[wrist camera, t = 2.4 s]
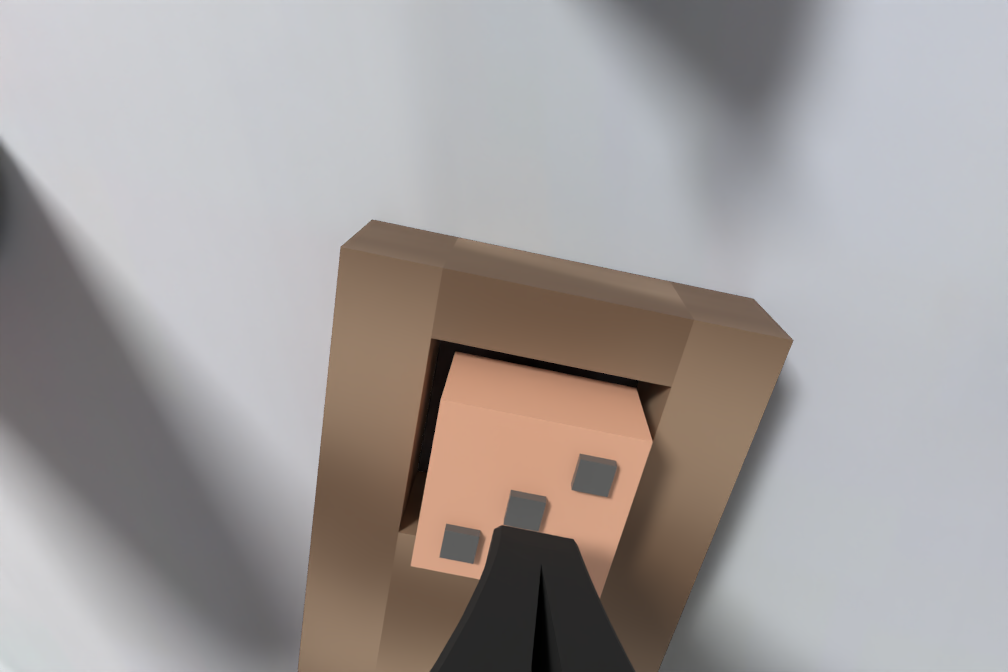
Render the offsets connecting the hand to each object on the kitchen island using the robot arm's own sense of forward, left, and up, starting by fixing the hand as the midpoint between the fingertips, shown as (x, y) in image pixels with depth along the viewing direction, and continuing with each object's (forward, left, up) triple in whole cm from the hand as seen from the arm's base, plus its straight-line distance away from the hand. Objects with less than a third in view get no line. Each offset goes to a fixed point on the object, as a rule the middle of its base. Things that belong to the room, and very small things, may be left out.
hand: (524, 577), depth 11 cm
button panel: (-10, 0, -6) cm, 12 cm away
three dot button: (0, 0, -4) cm, 4 cm away
